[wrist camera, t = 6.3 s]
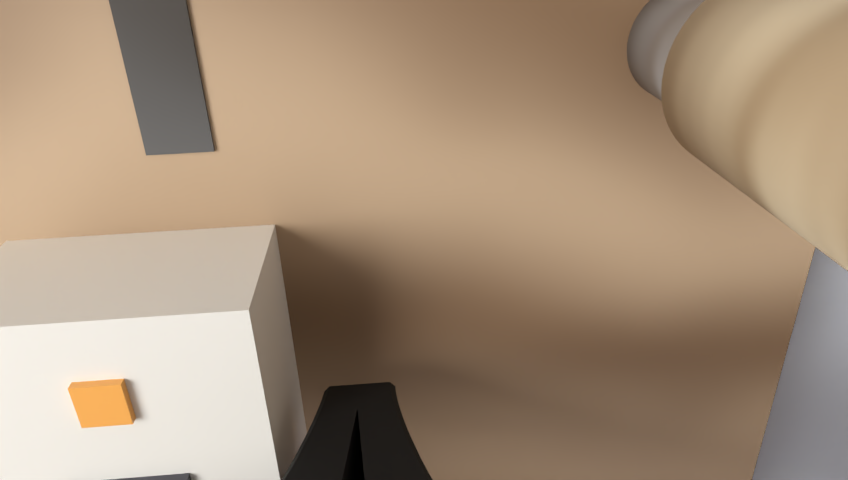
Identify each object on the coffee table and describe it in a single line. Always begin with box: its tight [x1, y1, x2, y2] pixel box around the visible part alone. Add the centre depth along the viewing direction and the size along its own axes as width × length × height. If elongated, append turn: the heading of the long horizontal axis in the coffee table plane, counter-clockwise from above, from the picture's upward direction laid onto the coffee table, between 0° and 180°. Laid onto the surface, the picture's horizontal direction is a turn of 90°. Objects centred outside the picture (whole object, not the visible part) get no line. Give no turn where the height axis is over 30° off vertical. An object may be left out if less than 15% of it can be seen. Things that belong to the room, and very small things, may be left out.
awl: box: [627, 0, 848, 271], centre depth 8 cm, size 3×3×8 cm
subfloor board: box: [0, 0, 815, 480], centre depth 14 cm, size 20×19×2 cm
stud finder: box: [0, 225, 307, 480], centre depth 13 cm, size 8×5×3 cm, turn 2°
